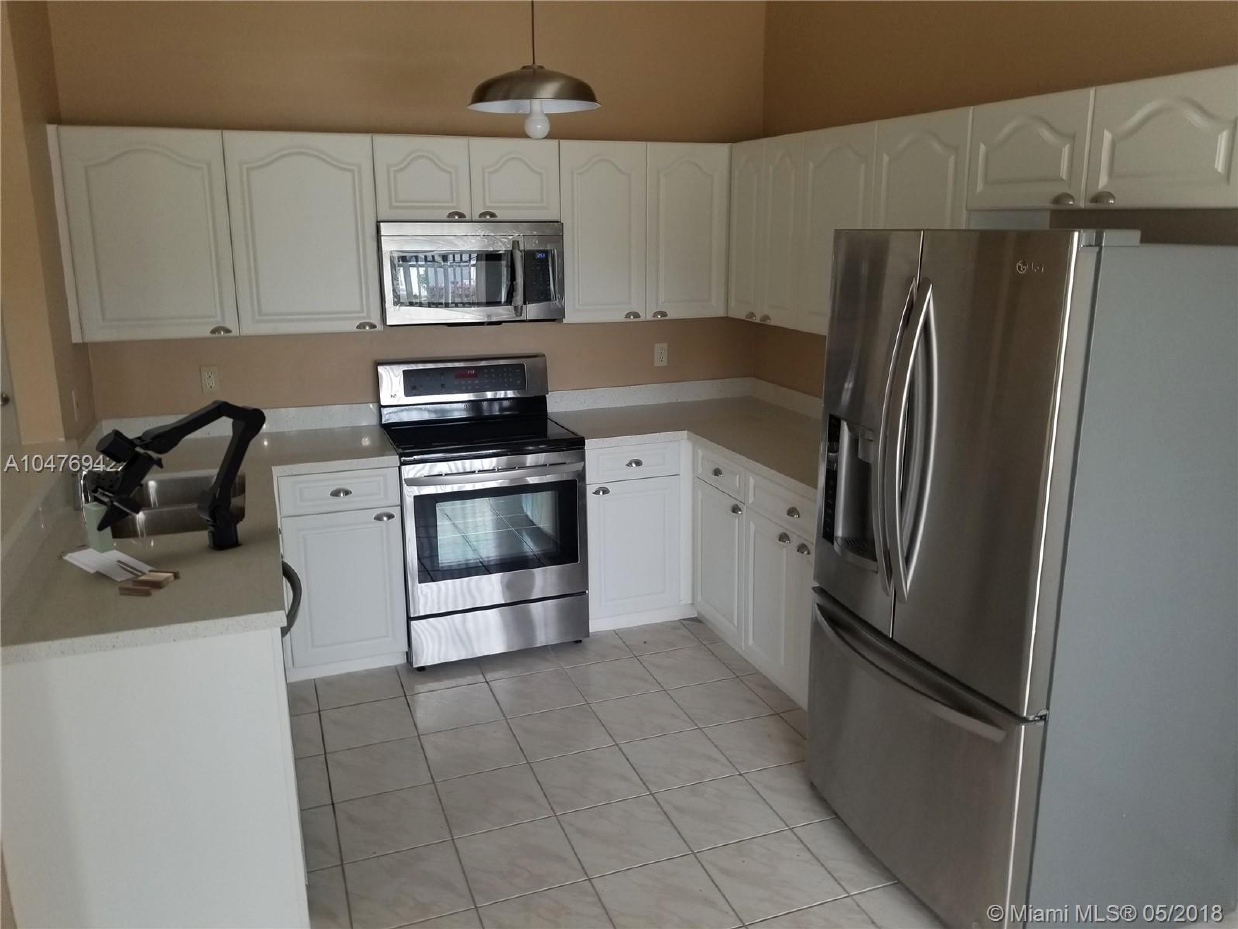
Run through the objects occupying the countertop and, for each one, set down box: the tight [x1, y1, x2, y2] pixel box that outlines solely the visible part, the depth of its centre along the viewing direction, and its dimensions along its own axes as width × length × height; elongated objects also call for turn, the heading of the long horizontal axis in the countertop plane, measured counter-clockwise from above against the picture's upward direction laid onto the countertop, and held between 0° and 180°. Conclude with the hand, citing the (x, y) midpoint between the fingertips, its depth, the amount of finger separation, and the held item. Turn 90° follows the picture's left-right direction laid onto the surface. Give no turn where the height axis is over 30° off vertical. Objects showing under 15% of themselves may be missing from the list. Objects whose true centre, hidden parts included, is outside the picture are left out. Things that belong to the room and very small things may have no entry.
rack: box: [117, 568, 181, 597], centre depth 220 cm, size 12×8×3 cm, turn 170°
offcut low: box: [164, 577, 174, 585], centre depth 222 cm, size 4×6×1 cm, turn 80°
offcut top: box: [137, 572, 174, 582], centre depth 222 cm, size 4×6×1 cm, turn 80°
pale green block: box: [82, 502, 115, 553], centre depth 224 cm, size 3×6×11 cm, turn 50°
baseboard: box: [57, 544, 155, 582], centre depth 235 cm, size 31×3×12 cm
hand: (92, 527), depth 223 cm, fingers closed on pale green block, 6 cm apart
